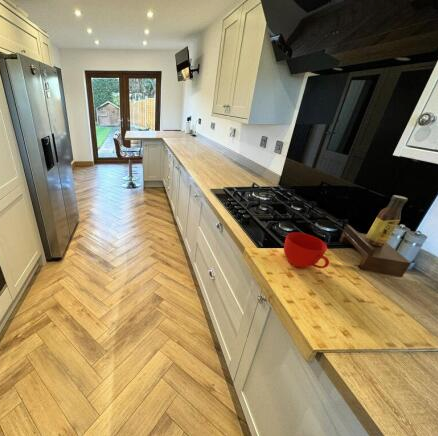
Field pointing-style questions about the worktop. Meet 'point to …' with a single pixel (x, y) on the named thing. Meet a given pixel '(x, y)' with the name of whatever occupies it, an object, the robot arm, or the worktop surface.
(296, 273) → the worktop surface
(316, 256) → the ceramic cup
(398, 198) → the sauce bottle
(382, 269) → the brown wooden stand
